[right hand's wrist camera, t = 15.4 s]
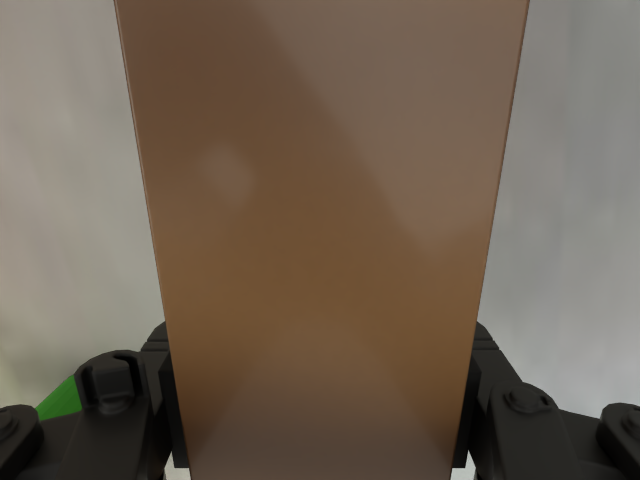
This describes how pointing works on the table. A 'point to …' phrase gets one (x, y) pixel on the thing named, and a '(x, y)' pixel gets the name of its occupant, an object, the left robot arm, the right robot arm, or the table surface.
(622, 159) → the table surface
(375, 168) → the bar
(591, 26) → the table surface
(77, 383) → the right robot arm
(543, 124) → the table surface
